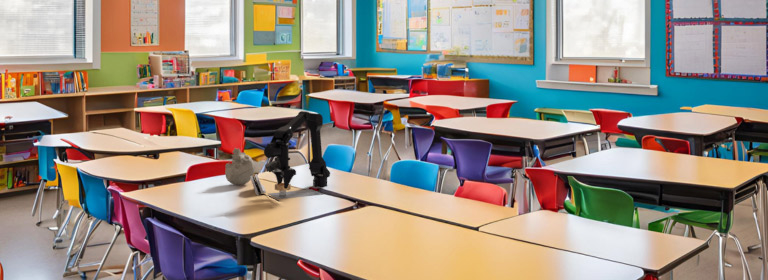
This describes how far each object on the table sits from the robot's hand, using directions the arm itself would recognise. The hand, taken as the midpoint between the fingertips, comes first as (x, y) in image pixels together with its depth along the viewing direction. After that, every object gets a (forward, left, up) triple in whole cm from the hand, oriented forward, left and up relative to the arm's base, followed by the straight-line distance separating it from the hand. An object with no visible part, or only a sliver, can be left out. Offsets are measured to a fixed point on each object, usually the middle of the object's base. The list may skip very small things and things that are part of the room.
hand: (282, 187), depth 349 cm
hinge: (+5, -19, -6) cm, 20 cm away
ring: (0, 0, -1) cm, 1 cm away
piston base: (-7, 0, -5) cm, 9 cm away
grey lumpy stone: (+7, -39, -5) cm, 40 cm away
